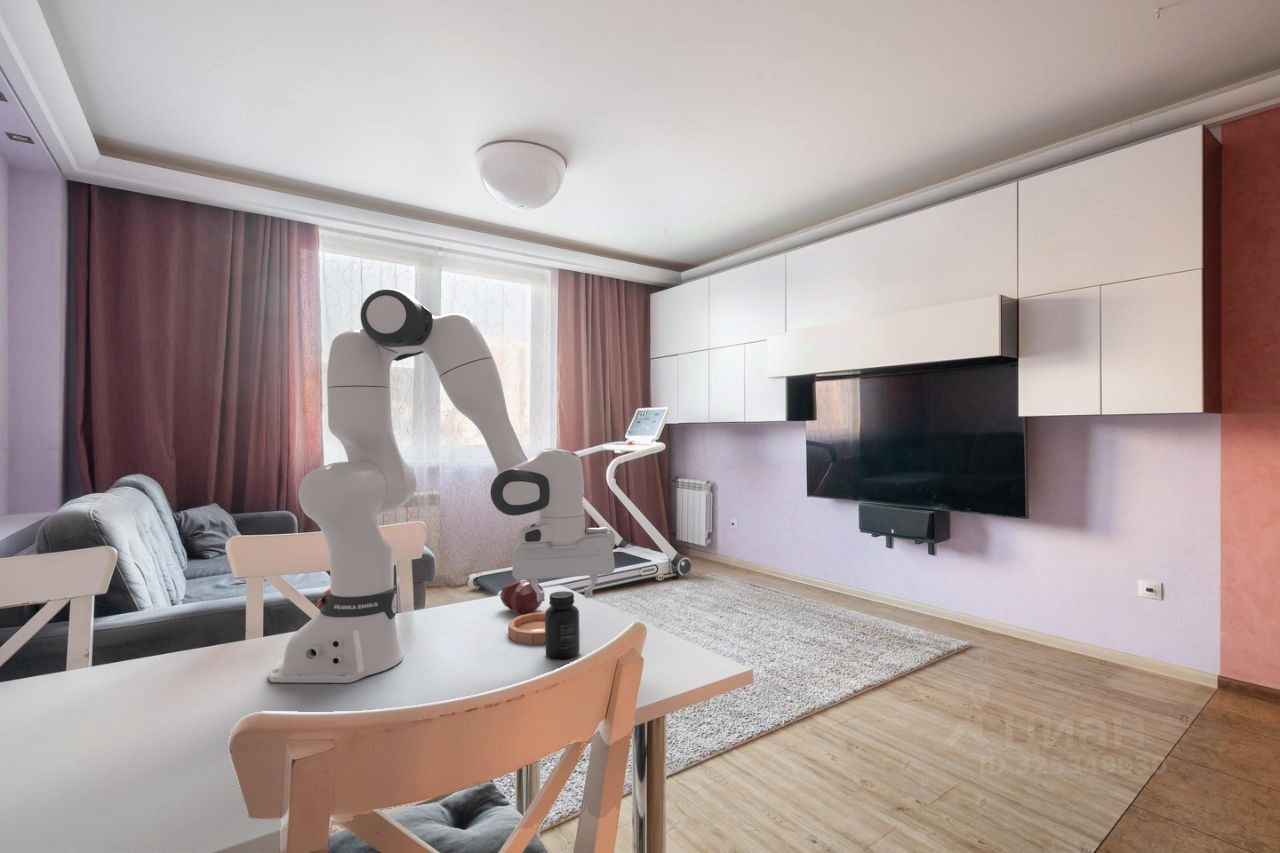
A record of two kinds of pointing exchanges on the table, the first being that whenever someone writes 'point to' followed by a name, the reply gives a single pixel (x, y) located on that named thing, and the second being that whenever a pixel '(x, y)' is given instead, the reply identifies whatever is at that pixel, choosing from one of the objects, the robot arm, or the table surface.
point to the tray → (528, 628)
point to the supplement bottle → (562, 627)
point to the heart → (520, 597)
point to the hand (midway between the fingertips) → (564, 599)
